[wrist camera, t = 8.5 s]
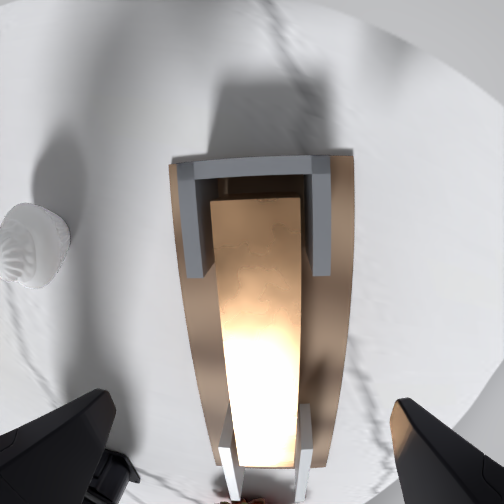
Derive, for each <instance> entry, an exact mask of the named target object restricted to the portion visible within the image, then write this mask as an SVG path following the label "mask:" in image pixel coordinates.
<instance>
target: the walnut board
mask: <svg viewBox="0 0 504 504" xmlns="http://www.w3.org/2000/svg"><path fill="white" fill-rule="evenodd" d="M330 172H331V274H330V276H313V275H312V271H311V267H310V264H309V260H308V257H307V253H306V250H305V205H304V174H288V175H260V176H240V177H224V178H217V179H218V194H219V197H221V196H223V195H225V194H238V193H259V192H289V191H296V192H297V194H298V195H299V197H300V213H301V334H300V366H299V390H298V409H297V425H296V440H295V453H294V465H293V467H261V466H245V468H261V469H295V459H296V448H297V435H298V421H299V406H300V404H309V403H310V413H311V426H312V440H313V453H312V459H311V466H310V468H320V467H326V463H327V458H328V454H329V449H330V444H331V439H332V435H333V429H334V424H335V419H336V413H337V408H338V402H339V395H340V389H341V382H342V376H343V368H344V361H345V353H346V344H347V335H348V326H349V315H350V303H351V290H352V273H353V252H354V158H353V156H330ZM169 178H170V191H171V203H172V214H173V225H174V234H175V244H176V252H177V261H178V269H179V276H180V284H181V291H182V298H183V305H184V311H185V318H186V324H187V330H188V336H189V342H190V348H191V353H192V359H193V364H194V369H195V375H196V380H197V385H198V390H199V394H200V399H201V404H202V408H203V413H204V417H205V422H206V426H207V430H208V435H209V439H210V443H211V447H212V451H213V455H214V459H215V462H216V466H222V462H221V458H220V453H219V449H218V446H219V442H220V437H221V433H222V429H223V425H224V421H225V417H226V412H227V408H228V404H229V403H231V401H230V394H229V386H228V379H227V371H226V362H225V354H224V346H223V337H222V328H221V319H220V309H219V299H218V289H217V279H216V268H215V262H214V264H213V265H212V267H211V268H210V269H209V271H208V272H207V274H206V275H205V277H204V278H187V274H186V265H185V257H184V248H183V238H182V229H181V218H180V207H179V195H178V181H177V167H176V164H171V165H169Z"/></svg>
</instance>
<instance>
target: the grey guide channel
mask: <svg viewBox="0 0 504 504" xmlns="http://www.w3.org/2000/svg"><path fill="white" fill-rule="evenodd" d="M218 449H219V453H220V458H221V462H222V466H223V470H224V474H225V478H226V482H227V486H228V490H229V494H230V498H231V500H233V501H240V499H241V492H242V486H243V479H244V473H245V466H240V463H239V456H238V450H237V443H236V437H235V430H234V423H233V416H232V409H231V403H229V404H228V408H227V412H226V417H225V421H224V425H223V429H222V433H221V437H220V442H219V446H218ZM312 453H313V440H312V426H311V413H310V403H309V404H300V406H299V421H298V435H297V448H296V459H295V502H304V499H305V494H306V489H307V483H308V477H309V472H310V466H311V459H312Z"/></svg>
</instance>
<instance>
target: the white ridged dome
mask: <svg viewBox="0 0 504 504" xmlns="http://www.w3.org/2000/svg"><path fill="white" fill-rule="evenodd" d="M70 237H71V236H70V232H69V228H68V227H67V224H66V223H65V221H63V219H62V218H60V216H58V215H56V214H54V213H53V212H51V211H49V210H47V209H46V208H44V207H41V206H39V205H38V206H37V205H34V204H31V203H20V204H18V205H16V206H14V207H13V208H12V209H11V210H10V211H9V212H8V213H7V215H6V216H5V218H4V219H3V222H2V224H1V227H0V279H2V280H5V281H6V282H11V281H16V282H17V283H20V284H21V285H23V286H24V287H27V288H31V289H39V288H42V287H44V286H46V285H48V284H49V283H50V282H51V280H52V279H53V278H54V276H55V274H56V272H57V273H58V271H59V269H60V267H61V265H62V263H63V261H64V258H65V256H66V254H67V252H68V249H69V246H70V242H71V241H70Z"/></svg>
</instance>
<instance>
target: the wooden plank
mask: <svg viewBox="0 0 504 504" xmlns="http://www.w3.org/2000/svg"><path fill="white" fill-rule="evenodd" d="M210 207H211V221H212V233H213V246H214V257H215V268H216V279H217V289H218V299H219V309H220V319H221V328H222V337H223V346H224V354H225V362H226V371H227V379H228V386H229V394H230V401H231V409H232V416H233V423H234V430H235V437H236V443H237V450H238V456H239V463H240V466H261V467H293V465H294V453H295V440H296V425H297V409H298V390H299V366H300V334H301V213H300V197H299V195H298V194H297V192H296V191H289V192H259V193H238V194H225V195H223V196H221V197H219V198H216V199H214V200H212V201H210Z"/></svg>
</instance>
